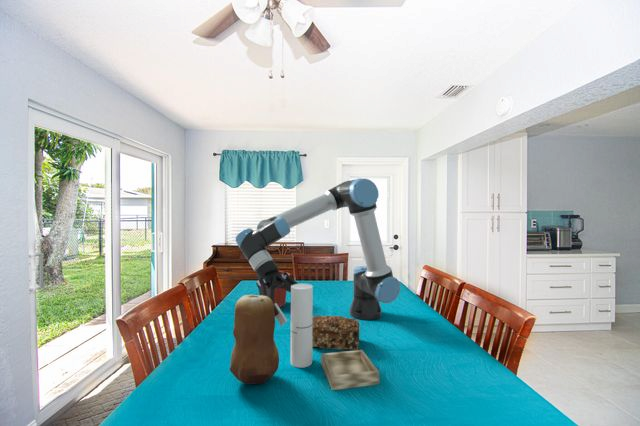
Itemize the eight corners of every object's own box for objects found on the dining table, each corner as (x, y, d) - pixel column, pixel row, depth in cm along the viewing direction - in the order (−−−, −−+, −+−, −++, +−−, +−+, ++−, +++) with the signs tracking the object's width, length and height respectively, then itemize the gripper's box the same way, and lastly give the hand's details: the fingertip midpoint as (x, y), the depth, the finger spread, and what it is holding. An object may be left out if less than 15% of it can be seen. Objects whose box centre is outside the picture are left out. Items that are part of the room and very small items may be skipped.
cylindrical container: (309, 368, 95) (309, 289, 94) (287, 366, 96) (288, 288, 96) (314, 357, 102) (314, 284, 101) (294, 355, 103) (294, 283, 103)
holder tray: (362, 360, 100) (362, 349, 100) (379, 384, 86) (379, 372, 86) (321, 364, 97) (321, 353, 97) (332, 390, 83) (332, 377, 83)
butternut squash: (268, 364, 97) (268, 287, 97) (286, 384, 86) (287, 298, 85) (224, 376, 90) (224, 293, 89) (238, 401, 78) (238, 306, 78)
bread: (307, 348, 109) (307, 321, 108) (312, 336, 119) (312, 311, 119) (359, 352, 106) (359, 324, 106) (359, 339, 117) (359, 313, 116)
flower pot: (296, 303, 160) (296, 273, 160) (275, 312, 146) (275, 279, 146) (272, 298, 169) (272, 269, 168) (251, 306, 155) (251, 275, 154)
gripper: (281, 267, 119) (312, 312, 111) (231, 279, 98) (265, 336, 90) (292, 255, 116) (324, 300, 108) (242, 264, 95) (278, 322, 87)
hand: (297, 316), depth 99 cm, fingers open, 13 cm apart
